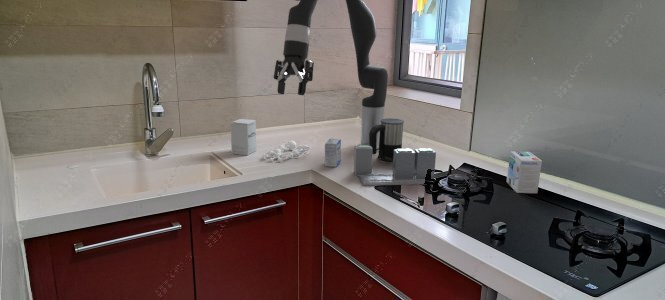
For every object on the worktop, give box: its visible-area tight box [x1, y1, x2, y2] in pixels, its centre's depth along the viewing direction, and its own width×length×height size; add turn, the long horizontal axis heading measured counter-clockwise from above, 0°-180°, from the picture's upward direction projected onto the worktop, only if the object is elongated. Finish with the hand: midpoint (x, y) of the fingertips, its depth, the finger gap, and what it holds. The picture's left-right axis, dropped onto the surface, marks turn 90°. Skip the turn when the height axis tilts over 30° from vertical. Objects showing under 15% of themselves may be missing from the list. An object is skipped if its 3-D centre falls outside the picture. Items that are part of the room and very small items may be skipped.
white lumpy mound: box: [263, 140, 310, 163], centre depth 183 cm, size 19×14×4 cm
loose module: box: [353, 145, 373, 177], centre depth 163 cm, size 4×6×10 cm, turn 97°
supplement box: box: [230, 118, 257, 156], centre depth 186 cm, size 7×7×13 cm
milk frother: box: [369, 118, 405, 162], centre depth 177 cm, size 14×16×15 cm
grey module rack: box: [358, 148, 437, 187], centre depth 157 cm, size 8×24×11 cm, turn 97°
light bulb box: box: [506, 150, 543, 194], centre depth 152 cm, size 11×7×11 cm, turn 178°
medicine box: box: [324, 138, 342, 168], centre depth 174 cm, size 8×4×9 cm, turn 168°
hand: (290, 94), depth 147 cm, fingers open, 8 cm apart
